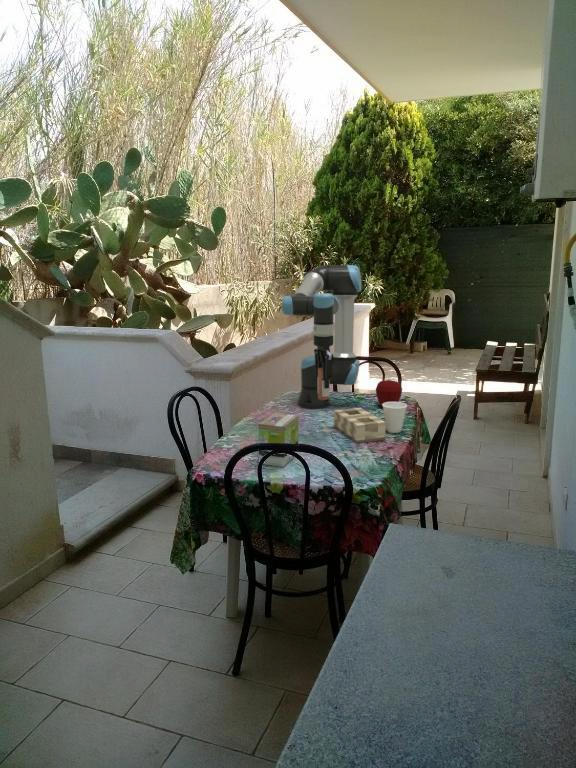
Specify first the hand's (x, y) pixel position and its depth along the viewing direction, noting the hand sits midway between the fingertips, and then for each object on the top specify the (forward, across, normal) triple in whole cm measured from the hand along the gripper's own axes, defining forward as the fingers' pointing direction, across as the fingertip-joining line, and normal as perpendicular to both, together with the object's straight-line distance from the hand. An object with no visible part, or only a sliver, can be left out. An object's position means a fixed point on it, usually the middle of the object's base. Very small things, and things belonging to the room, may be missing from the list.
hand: (323, 394), depth 227 cm
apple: (+18, -29, +45) cm, 56 cm away
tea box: (+17, +17, -24) cm, 34 cm away
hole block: (+17, +1, +15) cm, 23 cm away
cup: (+17, +4, +29) cm, 34 cm away
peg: (+2, 0, 0) cm, 2 cm away
